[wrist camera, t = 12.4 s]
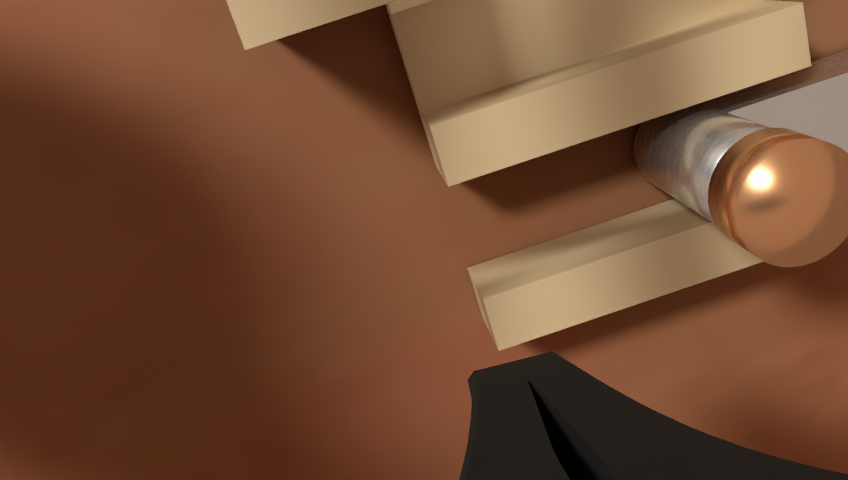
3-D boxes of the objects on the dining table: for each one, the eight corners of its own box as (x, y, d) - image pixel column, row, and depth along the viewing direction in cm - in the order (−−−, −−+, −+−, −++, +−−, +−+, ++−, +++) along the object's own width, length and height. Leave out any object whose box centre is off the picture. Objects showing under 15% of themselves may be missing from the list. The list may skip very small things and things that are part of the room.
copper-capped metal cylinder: (641, 205, 22) (748, 284, 16) (620, 113, 21) (727, 165, 16) (895, 120, 22) (1086, 170, 17) (886, 25, 21) (1083, 45, 16)
